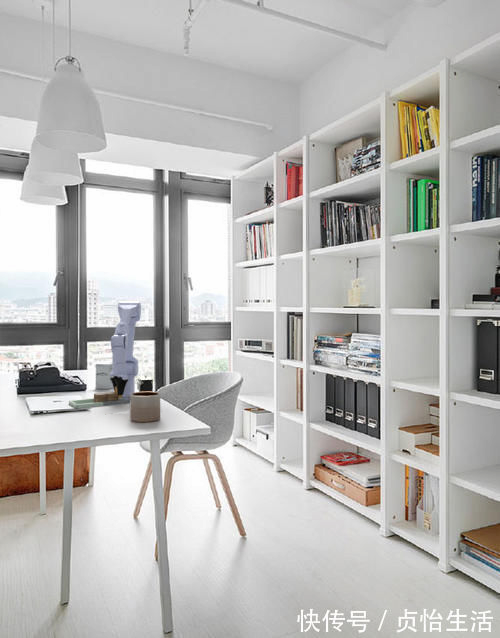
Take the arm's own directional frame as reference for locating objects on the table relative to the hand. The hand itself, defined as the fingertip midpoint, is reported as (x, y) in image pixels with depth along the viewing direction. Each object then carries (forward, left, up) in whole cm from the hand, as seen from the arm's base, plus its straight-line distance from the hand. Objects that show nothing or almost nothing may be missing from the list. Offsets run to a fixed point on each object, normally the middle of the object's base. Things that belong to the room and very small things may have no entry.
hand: (119, 394), depth 214 cm
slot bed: (0, -3, -4) cm, 5 cm away
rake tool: (0, 0, -3) cm, 3 cm away
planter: (+35, -3, -4) cm, 35 cm away
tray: (0, -14, -4) cm, 14 cm away
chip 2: (0, -4, -3) cm, 5 cm away
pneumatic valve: (+7, +9, -4) cm, 12 cm away
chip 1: (0, -8, -3) cm, 9 cm away
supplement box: (-41, +9, -4) cm, 42 cm away
